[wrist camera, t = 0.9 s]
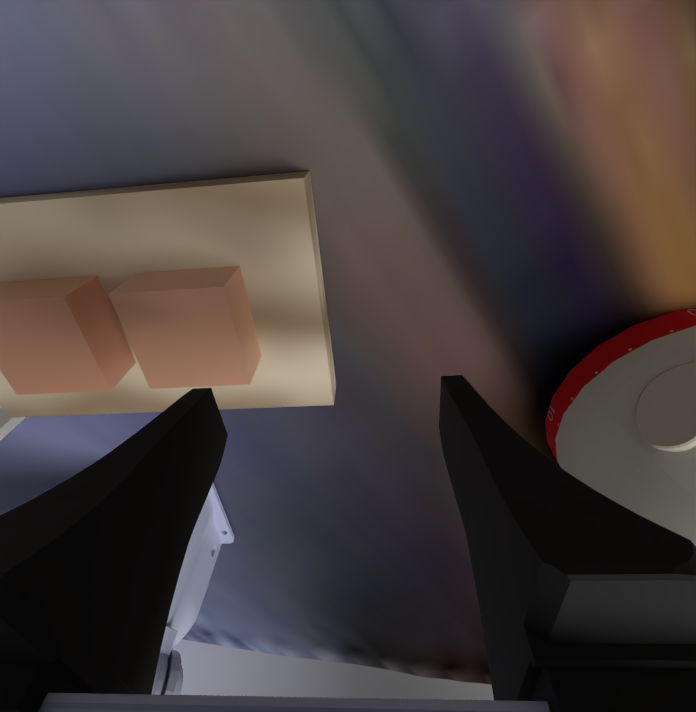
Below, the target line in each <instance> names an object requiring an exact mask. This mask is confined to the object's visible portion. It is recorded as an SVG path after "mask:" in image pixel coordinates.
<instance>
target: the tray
mask: <svg viewBox="0 0 696 712" xmlns="http://www.w3.org/2000/svg"><path fill="white" fill-rule="evenodd" d="M25 418H26V417H14V418H9V417H8V415H7V414H6V412H5V411H4V410H3V408H2V407H1V405H0V441H1V440H2V439H3V438H4V437H5V436H6V435H7V434H8V433H9V432H10V431H12V430H13V429H14V428H15V427H16V426H17V425H18V424H19V423H20V422H21V421H22V420H23V419H25Z"/></svg>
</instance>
